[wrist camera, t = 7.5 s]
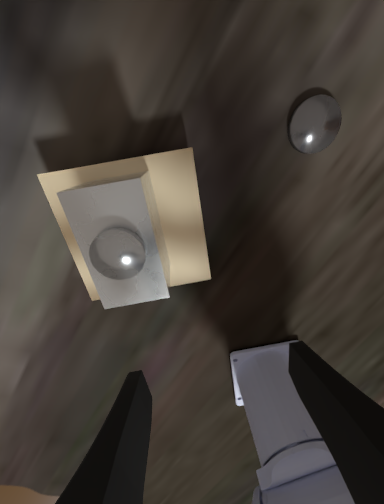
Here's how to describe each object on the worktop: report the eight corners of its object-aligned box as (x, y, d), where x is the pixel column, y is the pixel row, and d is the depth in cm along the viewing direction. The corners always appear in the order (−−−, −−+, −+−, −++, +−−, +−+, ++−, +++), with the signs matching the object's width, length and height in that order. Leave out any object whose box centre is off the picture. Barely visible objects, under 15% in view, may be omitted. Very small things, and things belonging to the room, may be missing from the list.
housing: (148, 170, 14) (138, 179, 10) (170, 263, 17) (169, 303, 13) (88, 181, 14) (49, 195, 10) (120, 272, 17) (101, 315, 13)
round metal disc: (330, 150, 17) (337, 149, 16) (284, 156, 17) (289, 156, 16) (337, 94, 15) (345, 91, 15) (287, 100, 15) (293, 98, 15)
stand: (207, 267, 20) (211, 279, 18) (99, 287, 20) (92, 300, 18) (189, 147, 16) (192, 147, 14) (52, 171, 16) (36, 174, 14)
